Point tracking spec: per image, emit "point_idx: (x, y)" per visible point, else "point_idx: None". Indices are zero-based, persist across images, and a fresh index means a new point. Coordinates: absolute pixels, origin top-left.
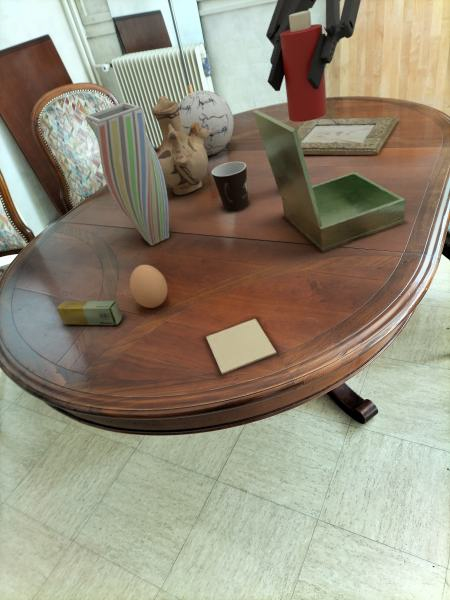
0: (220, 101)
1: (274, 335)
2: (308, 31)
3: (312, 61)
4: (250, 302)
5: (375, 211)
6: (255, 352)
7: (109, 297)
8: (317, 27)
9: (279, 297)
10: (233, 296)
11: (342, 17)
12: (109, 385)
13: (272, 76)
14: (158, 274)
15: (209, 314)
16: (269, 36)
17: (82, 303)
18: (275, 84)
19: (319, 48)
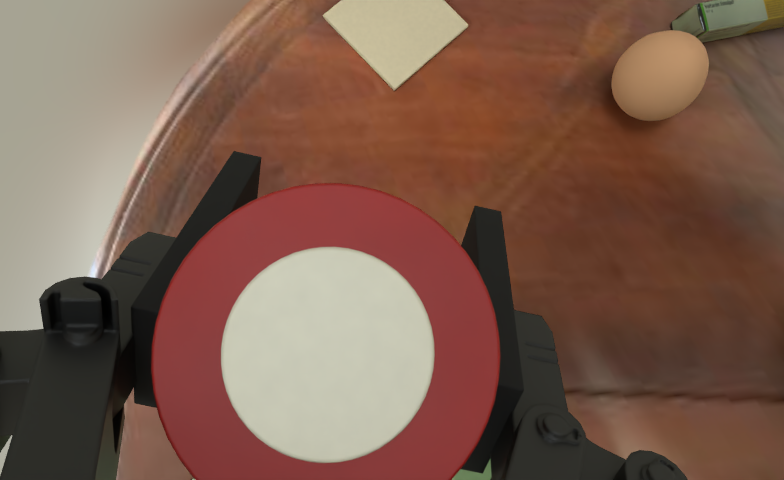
0: None
1: (342, 59)
2: (228, 219)
3: (229, 202)
4: (427, 140)
5: (192, 478)
6: (358, 6)
7: (758, 102)
8: (170, 294)
9: (371, 166)
10: (473, 152)
11: None
12: None
13: (478, 221)
14: (644, 74)
15: (497, 90)
16: (641, 453)
17: (774, 6)
18: (463, 242)
19: (180, 244)
